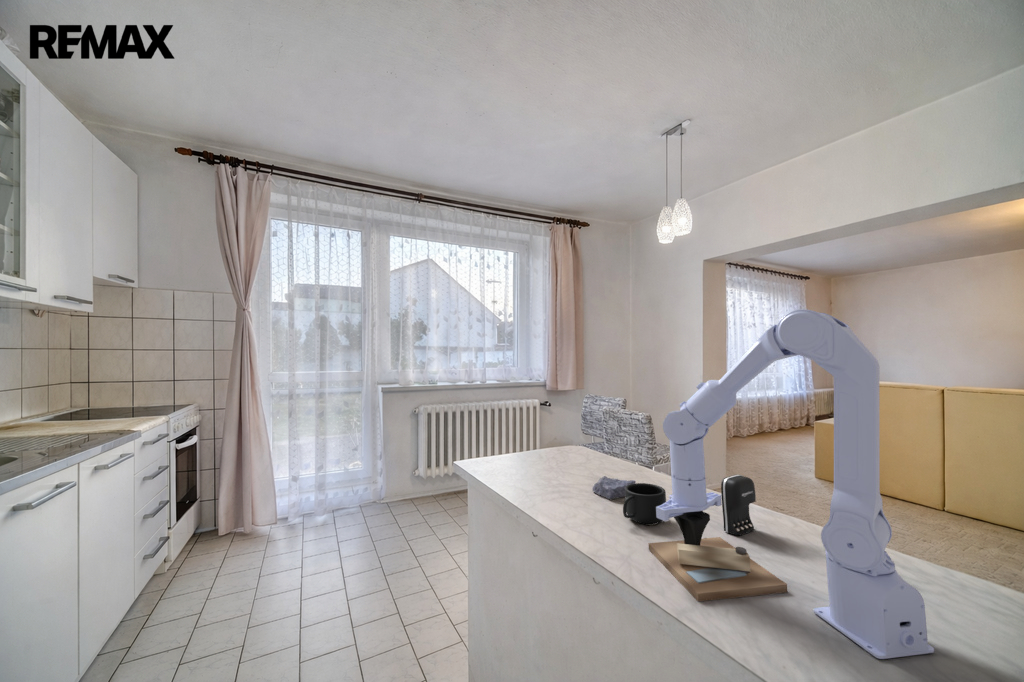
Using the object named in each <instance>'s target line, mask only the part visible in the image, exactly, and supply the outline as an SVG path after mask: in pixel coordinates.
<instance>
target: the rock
mask: <svg viewBox="0 0 1024 682" xmlns="http://www.w3.org/2000/svg"><path fill="white" fill-rule="evenodd" d="M635 483H636V479H631V480H626V479H618V478H610V477H607V476H602V477H600V478H599V480H598V481H596V482H595V483H594V485H592V489H591V490H592V492H593V493H594V492H595V493H597V494H599V495H598V496H600V495H601V496H602V497H604V498H605V497H606V498H605V499H613V498H614V499H618V498H625V487H626V486H628V485H630V484H635ZM595 493H594V494H595ZM597 494H596V495H597ZM601 496H600V497H601ZM614 499H613V500H614Z"/></svg>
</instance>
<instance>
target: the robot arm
mask: <svg viewBox="0 0 1024 682" xmlns="http://www.w3.org/2000/svg"><path fill="white" fill-rule="evenodd" d="M796 356H801V357H804V358H806V359H809V360H812V361H813V363H815V364H816V365H818V366H819V367H820V368H822V369H823V370H825V372H827V373H829V374H830V375H832V377H833V490H832V496H831V501H830V508H829V518H828V521H827V522H826V523H825V524H824V525H823V527H822V530H821V533H820V539H821V543H822V546H823V547H824V550H825V552H824V553H825V561H826V562H825V563H826V564H825V565H826V578H827V593H828V606H823V607H821V606H819V607H814V608H813V613H815V614H816V615H817V616H818V617H820V618H821V619H822V620H823V621H825V622H827V623H828V624H829V625H830V626H832V627H833V628H835V629H836V630H838V631H839V632H840V633H841V634H843V635H844V636H845V637H847V638H849V640H851V641H853V642H854V643H856V645H857V646H858V645H859V646H860V647H861V649H863V650H865V651H866V652H868V653H869V654H870V655H872V656H873V657H874V658H877V659H878V660H879V659H880V660H886V659H892V658H893V659H894V658H900V657H909V656H917V655H925V654H933V653H935V647H933V646H932V645H930V644H929V642H928V630H927V616H926V606H925V600H924V598H923V595H922V594H921V592H920V591H919V589H917V588H915V586H913V585H911V584H910V583H908V581H906V580H905V579H903V577H902V576H901V575H900V574H899V573H898V571H897V570H896V564H895V562H894V561H893V560H892V558H891V556H890V555H889V554H888V552H887V551H886V548H887V546H888V544H889V543H890V541H891V539H892V536H893V531H892V526H891V523H890V522H889V520H888V519H887V517H886V515H885V513H884V509H883V499H882V495H881V492H880V490H881V489H880V488H881V487H880V486H881V485H880V483H881V482H880V478H881V477H880V457H881V456H880V445H881V444H880V442H881V441H880V440H881V439H880V438H881V437H880V363H879V361H878V359H877V358H876V357H875V355H874V354H873V353H872V352H871V351H870V349H868V347H867V346H866V345H865V344H864V343H863V342H862V340H861V339H860V338H859V336H857V335H856V334H855V332H853V330H852V328H851V327H850V325H848V323H845V322H844V321H842V320H840V319H838V318H836V317H835V316H832V315H831V314H828V313H825V312H818V311H815V310H811V309H805V308H801V309H794V310H791V311H790V312H788V313H786V314H785V315H783V316H782V317H781V318H780V320H779V321H778V323H777V324H773V325H772V326H770V327H769V328H768V329H766V330H765V331H764V333H763V334H762V335H761V336H760V337H759V338H758V339H757V340H755V342H754V344H752V345H751V346H750V347H749V348H748V349H747V351H746V352H745V353H744V354H743V355H742V356H741V357H740V358H739V359H738V360H737V361H736V362H735V363H734V364H733V365H732V366H731V367H730V369H729V370H728V371H727V372H726V373H724V375H722V377H721V378H720V379H708V380H707V381H706V382H701V381H700V383H699V384H697V385H696V389H697V390H696V392H694V394H693V395H691V396H690V397H689V398H688V399H687V400H685V401H682V402H680V403H679V407H680V408H679V410H673V411H670V412H667V415H666V417H665V418H664V419H663V423H662V429H663V433H664V435H665V437H666V438H667V439H668V440H669V457H670V458H669V460H670V470H671V471H670V477H671V490H672V491H671V494H669V496H668V497H669V499H668V500H666V502H665V503H664V504H662V505H660V506H657V507H656V517H657V518H658V519H661V520H663V521H662V522H668V521H670V519H671V518H674V520H675V521H676V523H677V524H678V527H679V529H680V531H681V535H682V536H683V540H684V543H685V544H689V545H699V546H700V542H701V539H703V538H702V537H703V535H704V531H705V529H706V527H707V525H708V524H709V522H710V521H711V517H710V516H711V515H710V514H709V513H707V512H705V511H706V510H707V509H709V508H710V507H713V506H716V507H722V496H721V494H718V493H715V492H713V491H711V492H707V485H706V483H707V481H706V466H705V449H704V438H705V437H706V436H707V434H708V432H709V429H710V428H711V427H712V426H713V425H714V424H716V422H718V421H719V420H720V419H722V417H724V415H726V414H727V413H728V412H729V411H730V410H732V408H734V407H735V406H736V405H737V394H738V392H739V391H740V390H741V389H743V388H744V387H746V385H748V384H749V383H750V382H752V380H753V379H755V378H756V377H757V376H758V375H760V373H761V374H762V372H763V371H765V369H767V368H768V367H769V366H771V364H773V363H775V362H776V361H780V360H783V359H788V358H792V357H796Z"/></svg>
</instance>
